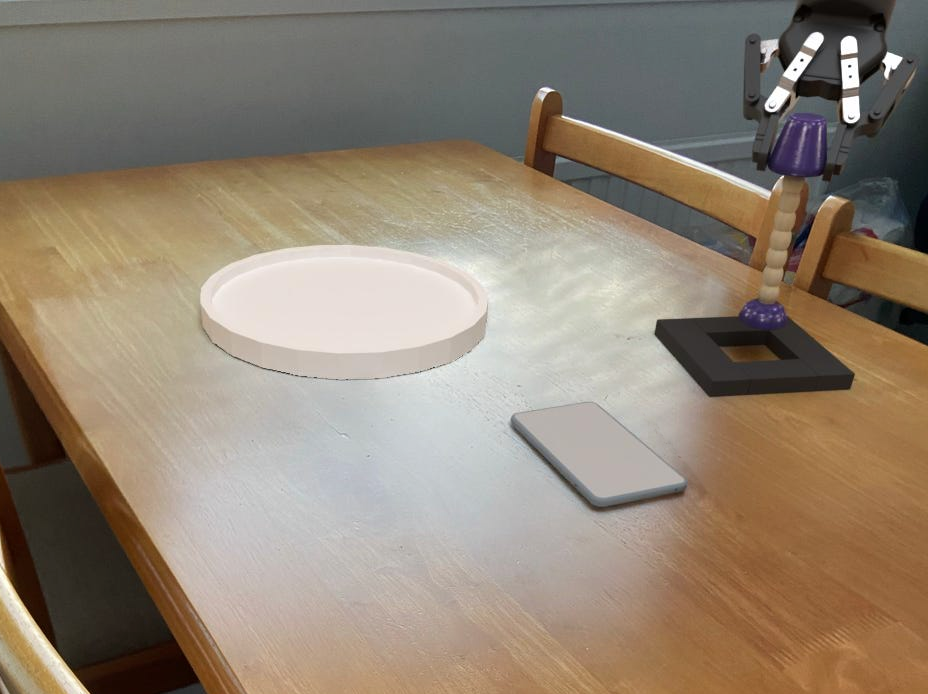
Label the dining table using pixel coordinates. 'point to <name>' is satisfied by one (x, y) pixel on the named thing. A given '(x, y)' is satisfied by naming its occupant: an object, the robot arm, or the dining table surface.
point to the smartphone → (598, 454)
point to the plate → (344, 311)
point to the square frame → (720, 376)
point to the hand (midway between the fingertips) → (794, 169)
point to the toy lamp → (787, 210)
